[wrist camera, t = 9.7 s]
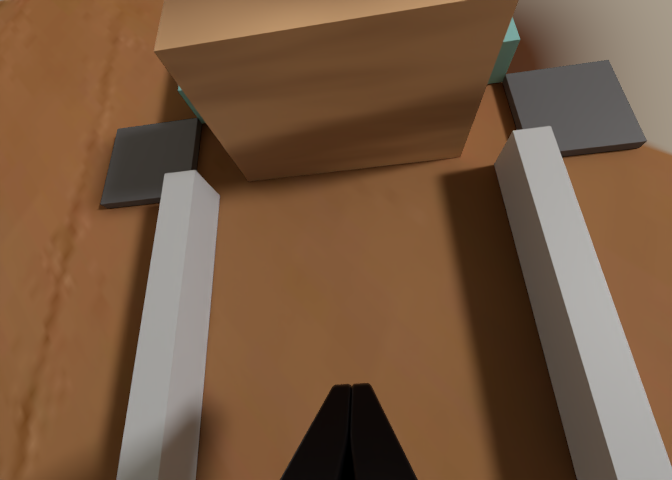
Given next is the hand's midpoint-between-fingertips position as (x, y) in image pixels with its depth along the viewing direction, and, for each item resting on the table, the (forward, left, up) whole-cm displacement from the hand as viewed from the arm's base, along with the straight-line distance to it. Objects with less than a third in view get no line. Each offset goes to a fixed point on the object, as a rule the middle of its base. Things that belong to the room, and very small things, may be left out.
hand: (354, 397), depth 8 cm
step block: (+10, +12, -6) cm, 17 cm away
